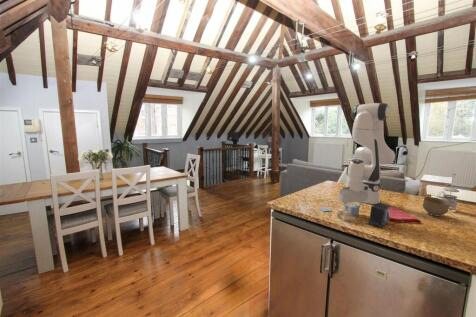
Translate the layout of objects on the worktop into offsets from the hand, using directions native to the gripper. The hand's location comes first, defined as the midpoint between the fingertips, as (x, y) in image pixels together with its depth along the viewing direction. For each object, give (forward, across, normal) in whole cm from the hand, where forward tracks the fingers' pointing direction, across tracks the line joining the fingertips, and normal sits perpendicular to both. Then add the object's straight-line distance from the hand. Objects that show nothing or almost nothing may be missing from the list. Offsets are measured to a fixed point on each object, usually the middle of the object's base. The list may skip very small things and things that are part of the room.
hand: (351, 208), depth 144 cm
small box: (+4, +4, -16) cm, 17 cm away
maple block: (+4, -10, -5) cm, 12 cm away
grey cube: (+3, +1, 0) cm, 3 cm away
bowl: (+3, +51, -15) cm, 53 cm away
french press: (+2, +71, -10) cm, 72 cm away
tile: (+3, -12, +10) cm, 15 cm away
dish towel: (+4, +26, -8) cm, 27 cm away
